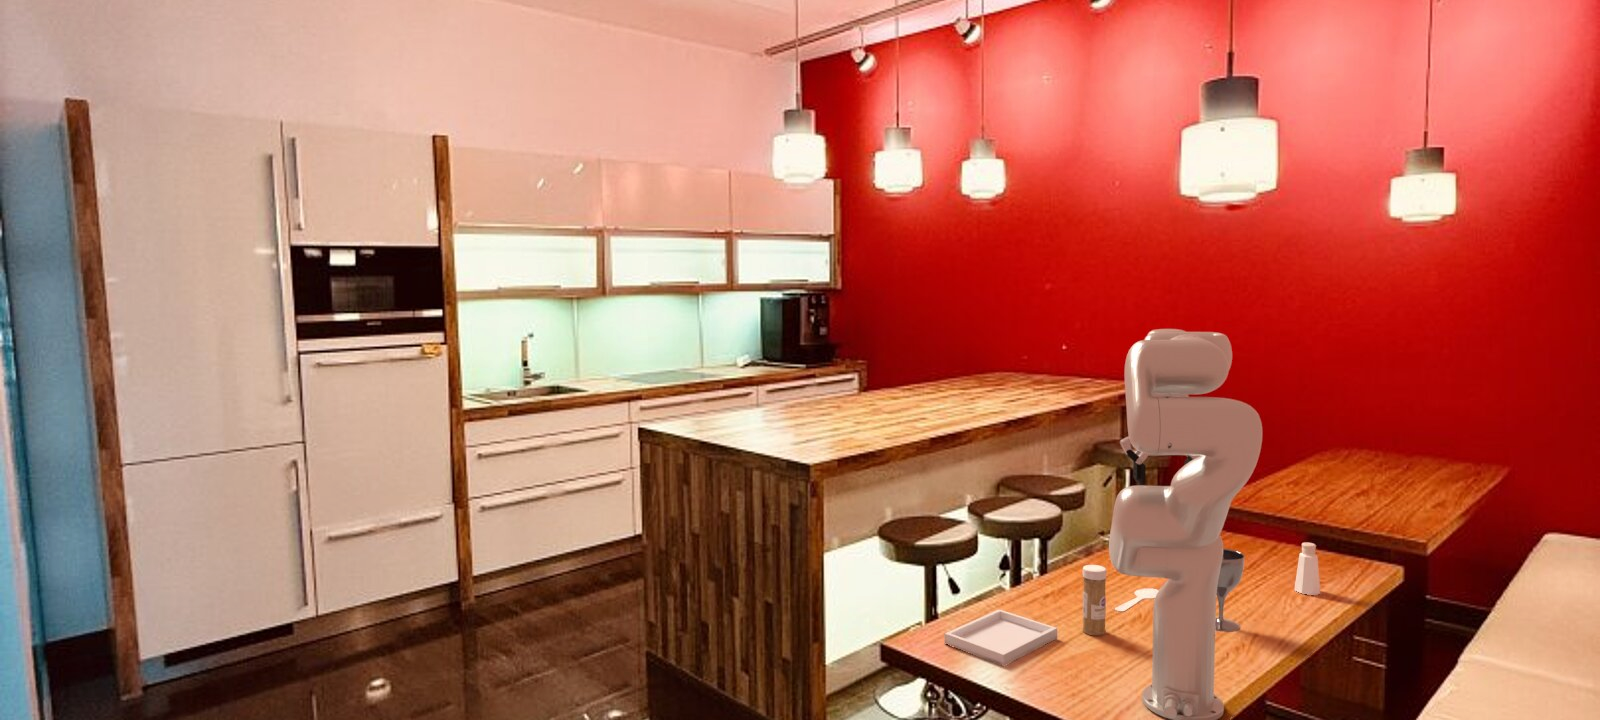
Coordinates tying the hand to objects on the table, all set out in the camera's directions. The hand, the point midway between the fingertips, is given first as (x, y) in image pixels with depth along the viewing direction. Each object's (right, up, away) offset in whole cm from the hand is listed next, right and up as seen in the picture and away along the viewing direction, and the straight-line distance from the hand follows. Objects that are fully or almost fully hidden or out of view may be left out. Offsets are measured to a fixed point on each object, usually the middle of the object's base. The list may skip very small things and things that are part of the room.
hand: (1165, 482), depth 171 cm
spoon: (+5, -30, +27) cm, 41 cm away
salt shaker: (+44, -29, +29) cm, 60 cm away
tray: (-30, -33, +6) cm, 45 cm away
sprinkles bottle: (-10, -32, +10) cm, 35 cm away
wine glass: (+16, -31, +12) cm, 37 cm away
